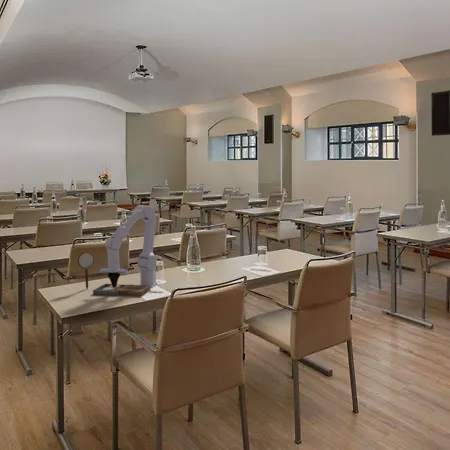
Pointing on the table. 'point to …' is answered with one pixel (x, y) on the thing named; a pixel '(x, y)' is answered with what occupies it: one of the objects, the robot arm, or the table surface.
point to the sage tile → (108, 289)
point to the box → (100, 292)
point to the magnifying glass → (86, 263)
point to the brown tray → (133, 290)
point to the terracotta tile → (116, 287)
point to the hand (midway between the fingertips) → (114, 287)
